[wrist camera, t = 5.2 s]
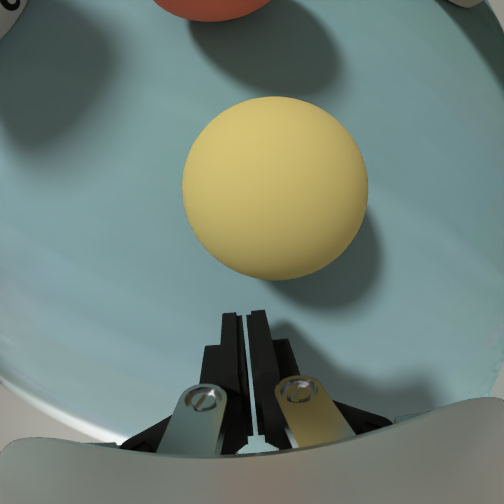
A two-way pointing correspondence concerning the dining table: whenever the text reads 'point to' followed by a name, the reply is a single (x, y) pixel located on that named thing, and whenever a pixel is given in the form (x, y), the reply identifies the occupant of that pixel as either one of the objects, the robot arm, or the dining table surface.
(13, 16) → the cup
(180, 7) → the red ball
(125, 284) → the dining table surface
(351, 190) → the ochre ball
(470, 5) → the travel mug
